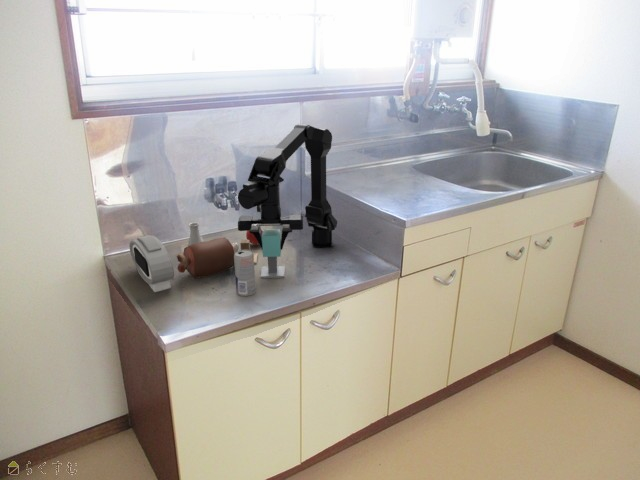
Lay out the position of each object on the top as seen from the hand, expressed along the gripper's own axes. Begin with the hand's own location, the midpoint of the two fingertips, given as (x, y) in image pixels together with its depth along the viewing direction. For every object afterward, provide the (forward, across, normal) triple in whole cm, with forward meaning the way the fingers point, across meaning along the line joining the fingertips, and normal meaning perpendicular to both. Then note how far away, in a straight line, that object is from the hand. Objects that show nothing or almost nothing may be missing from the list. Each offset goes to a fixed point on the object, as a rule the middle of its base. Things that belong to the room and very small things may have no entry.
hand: (272, 249), depth 156 cm
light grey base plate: (+8, 0, 0) cm, 8 cm away
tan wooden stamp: (+8, +9, -10) cm, 16 cm away
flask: (+8, +26, -17) cm, 32 cm away
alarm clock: (+8, +35, +3) cm, 36 cm away
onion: (+8, +7, -22) cm, 24 cm away
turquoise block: (+1, 0, 0) cm, 1 cm away
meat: (+8, +19, -1) cm, 21 cm away
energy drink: (+8, +7, +12) cm, 16 cm away
